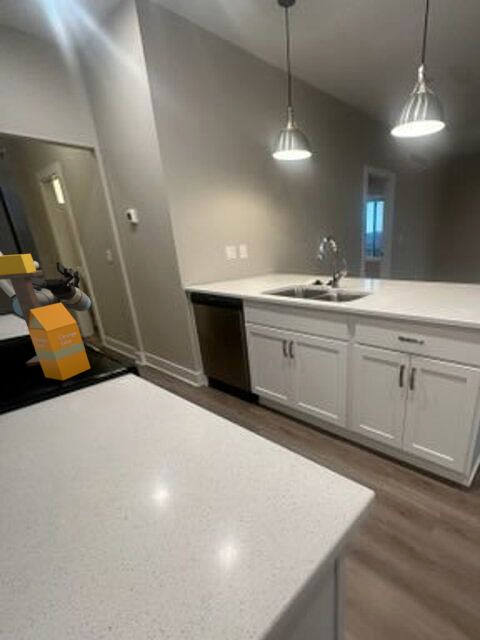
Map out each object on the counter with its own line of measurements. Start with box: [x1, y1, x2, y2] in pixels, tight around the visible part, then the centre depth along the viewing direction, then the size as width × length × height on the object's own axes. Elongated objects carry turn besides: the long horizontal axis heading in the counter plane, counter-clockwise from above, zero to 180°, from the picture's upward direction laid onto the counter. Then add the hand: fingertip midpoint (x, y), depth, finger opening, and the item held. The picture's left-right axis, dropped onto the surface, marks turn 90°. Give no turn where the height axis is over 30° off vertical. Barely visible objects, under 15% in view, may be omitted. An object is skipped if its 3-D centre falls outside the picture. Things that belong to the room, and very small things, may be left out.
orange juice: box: [27, 303, 91, 381], centre depth 97 cm, size 8×9×20 cm
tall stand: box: [0, 269, 44, 367], centre depth 106 cm, size 10×6×28 cm, turn 104°
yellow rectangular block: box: [0, 253, 40, 275], centre depth 104 cm, size 7×14×5 cm, turn 14°
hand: (34, 267), depth 110 cm, fingers open, 13 cm apart
